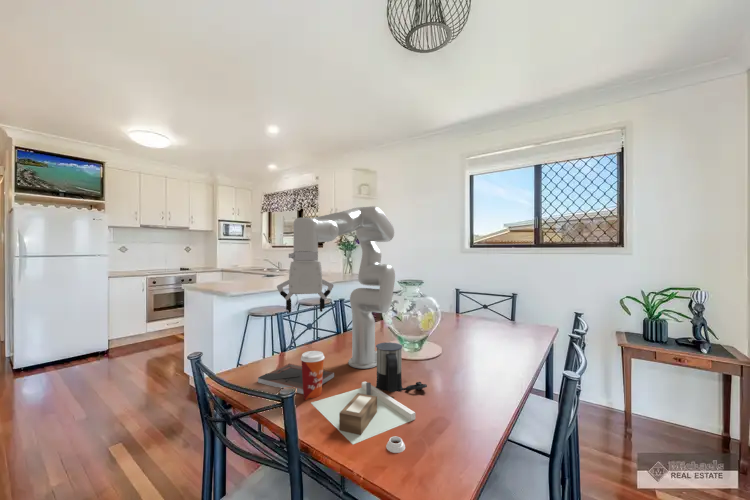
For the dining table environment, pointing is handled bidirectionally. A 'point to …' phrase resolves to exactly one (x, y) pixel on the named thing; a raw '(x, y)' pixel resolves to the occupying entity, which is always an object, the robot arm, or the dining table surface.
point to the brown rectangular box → (358, 414)
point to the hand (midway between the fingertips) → (305, 311)
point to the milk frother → (391, 368)
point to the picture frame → (289, 377)
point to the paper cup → (312, 373)
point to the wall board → (384, 419)
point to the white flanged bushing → (395, 445)
